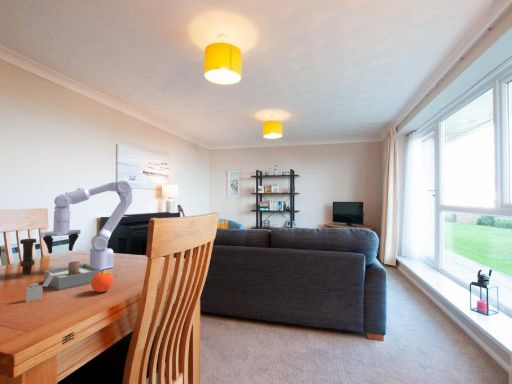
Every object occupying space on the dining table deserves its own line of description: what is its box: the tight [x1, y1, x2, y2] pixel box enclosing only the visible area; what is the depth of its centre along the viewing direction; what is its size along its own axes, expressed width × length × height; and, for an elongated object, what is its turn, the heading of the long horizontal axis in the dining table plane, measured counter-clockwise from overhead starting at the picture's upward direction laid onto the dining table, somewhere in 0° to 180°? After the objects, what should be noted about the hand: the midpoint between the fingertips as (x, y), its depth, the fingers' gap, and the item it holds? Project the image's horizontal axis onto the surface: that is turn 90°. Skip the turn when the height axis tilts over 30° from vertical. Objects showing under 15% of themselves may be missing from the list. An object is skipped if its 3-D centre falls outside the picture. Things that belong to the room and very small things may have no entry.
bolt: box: [19, 238, 37, 275], centre depth 115 cm, size 6×5×15 cm
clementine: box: [90, 271, 116, 293], centre depth 95 cm, size 8×7×7 cm
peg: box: [68, 260, 81, 276], centre depth 105 cm, size 4×4×7 cm
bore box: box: [43, 263, 104, 292], centre depth 105 cm, size 15×16×4 cm
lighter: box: [25, 273, 54, 303], centre depth 87 cm, size 7×2×8 cm, turn 130°
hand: (60, 251), depth 117 cm, fingers open, 7 cm apart
